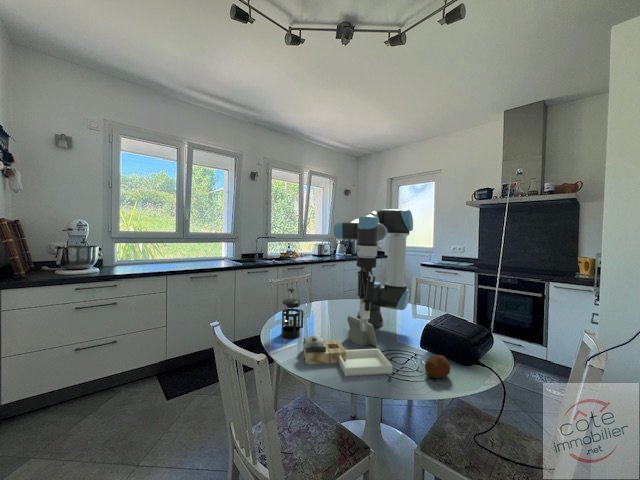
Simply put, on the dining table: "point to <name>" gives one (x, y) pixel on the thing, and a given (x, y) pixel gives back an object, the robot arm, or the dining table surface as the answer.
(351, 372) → the tray
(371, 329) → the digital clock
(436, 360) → the potato
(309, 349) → the wooden holder
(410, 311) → the dining table surface
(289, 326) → the french press
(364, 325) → the pin
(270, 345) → the dining table surface
